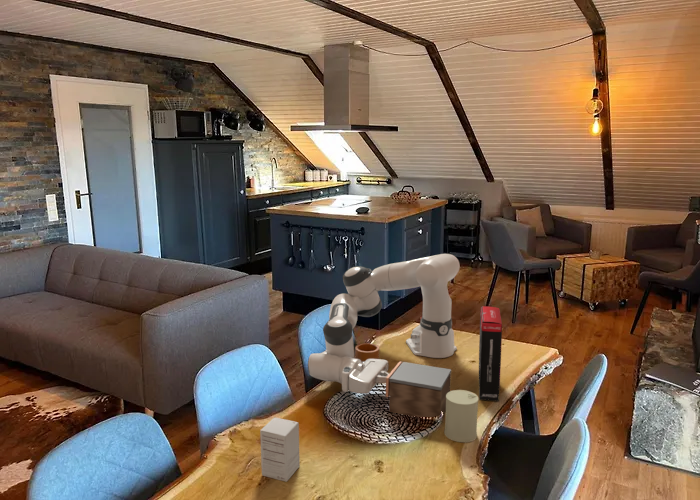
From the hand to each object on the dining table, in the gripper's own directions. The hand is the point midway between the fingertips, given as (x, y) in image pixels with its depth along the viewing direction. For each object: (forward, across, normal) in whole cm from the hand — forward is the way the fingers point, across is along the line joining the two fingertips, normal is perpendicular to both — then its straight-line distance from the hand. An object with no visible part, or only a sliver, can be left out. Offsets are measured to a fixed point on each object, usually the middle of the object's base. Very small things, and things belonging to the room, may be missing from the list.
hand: (392, 378), depth 175 cm
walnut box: (+9, 0, -8) cm, 12 cm away
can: (+24, +11, -8) cm, 28 cm away
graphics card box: (+27, -21, -8) cm, 35 cm away
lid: (+9, 0, -3) cm, 9 cm away
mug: (-16, -22, -8) cm, 28 cm away
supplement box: (-14, +47, -8) cm, 50 cm away
